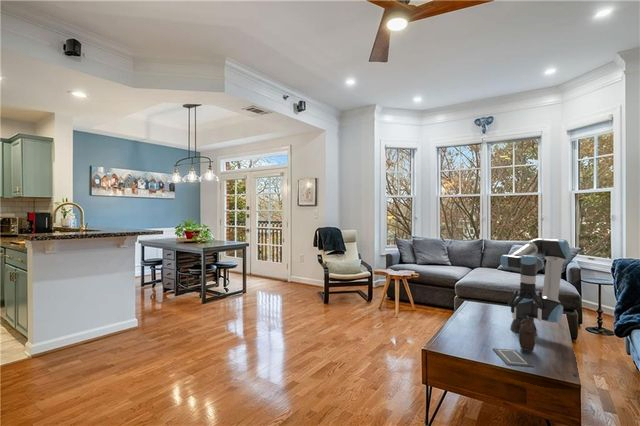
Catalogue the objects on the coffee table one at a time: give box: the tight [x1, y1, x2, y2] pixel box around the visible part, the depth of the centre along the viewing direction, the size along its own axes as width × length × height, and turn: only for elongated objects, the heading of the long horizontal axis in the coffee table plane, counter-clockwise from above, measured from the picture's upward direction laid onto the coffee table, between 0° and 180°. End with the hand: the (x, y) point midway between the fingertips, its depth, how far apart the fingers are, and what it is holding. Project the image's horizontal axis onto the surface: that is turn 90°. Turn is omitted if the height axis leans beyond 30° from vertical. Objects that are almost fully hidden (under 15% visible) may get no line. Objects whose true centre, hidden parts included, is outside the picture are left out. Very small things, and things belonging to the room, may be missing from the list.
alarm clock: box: [518, 316, 536, 354], centre depth 193 cm, size 15×7×20 cm, turn 153°
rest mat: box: [492, 348, 535, 368], centre depth 183 cm, size 13×20×1 cm, turn 172°
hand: (526, 319), depth 192 cm, fingers open, 13 cm apart
